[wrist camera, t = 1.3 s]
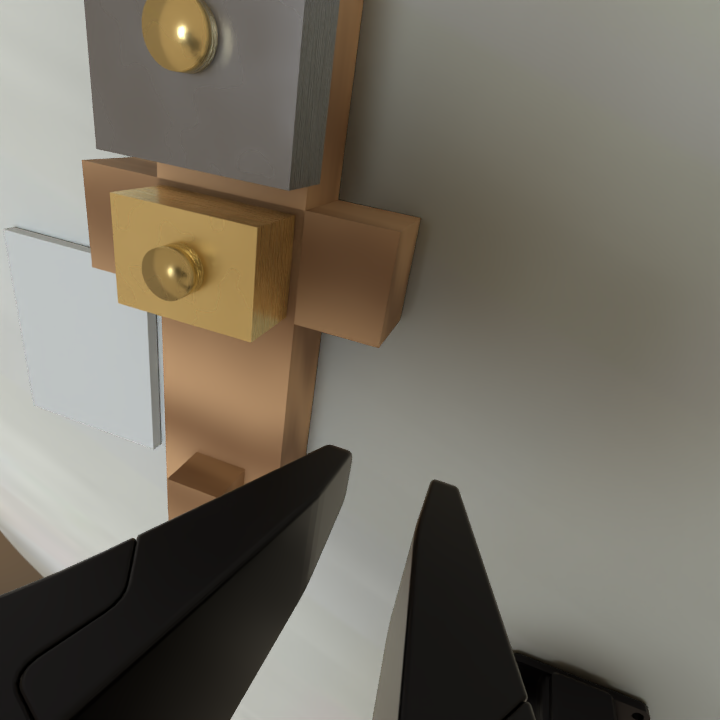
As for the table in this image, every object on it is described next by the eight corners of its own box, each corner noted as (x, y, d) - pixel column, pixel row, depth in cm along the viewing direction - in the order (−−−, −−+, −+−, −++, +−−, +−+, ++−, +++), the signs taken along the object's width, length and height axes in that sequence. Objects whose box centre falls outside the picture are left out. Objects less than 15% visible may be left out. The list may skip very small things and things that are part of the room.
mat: (161, 443, 27) (153, 449, 26) (42, 400, 29) (33, 405, 28) (154, 265, 22) (145, 268, 22) (14, 227, 24) (3, 229, 24)
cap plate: (319, 184, 16) (278, 193, 13) (146, 147, 17) (80, 149, 15) (349, -89, 13) (303, -142, 10) (136, -107, 14) (51, -157, 12)
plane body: (357, 530, 25) (318, 613, 21) (153, 455, 28) (81, 515, 23) (473, -42, 15) (444, -116, 10) (129, -76, 17) (-10, -146, 13)
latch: (286, 317, 18) (237, 352, 15) (166, 283, 19) (99, 310, 16) (295, 214, 16) (242, 232, 13) (163, 185, 17) (89, 195, 14)
